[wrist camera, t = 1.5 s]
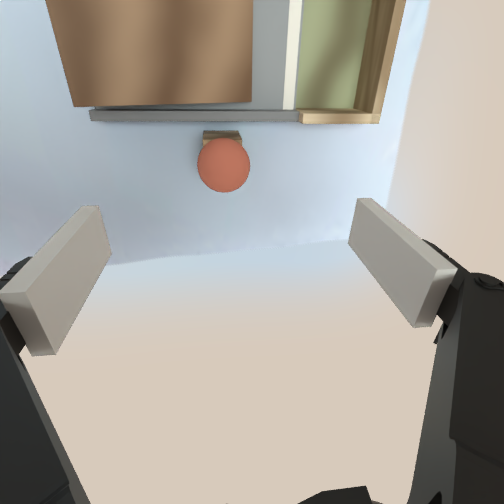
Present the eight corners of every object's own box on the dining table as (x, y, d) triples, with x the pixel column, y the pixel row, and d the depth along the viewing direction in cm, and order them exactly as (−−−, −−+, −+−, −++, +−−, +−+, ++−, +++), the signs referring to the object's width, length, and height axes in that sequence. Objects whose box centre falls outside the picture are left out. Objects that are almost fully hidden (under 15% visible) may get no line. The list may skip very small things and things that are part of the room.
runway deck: (102, 116, 28) (91, 121, 25) (65, -46, 22) (46, -61, 19) (290, 116, 30) (298, 121, 27) (302, -33, 24) (313, -45, 21)
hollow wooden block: (206, 165, 31) (205, 178, 27) (203, 130, 29) (202, 140, 26) (238, 164, 32) (242, 178, 28) (238, 130, 30) (242, 139, 26)
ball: (200, 183, 28) (198, 201, 24) (196, 133, 26) (193, 144, 22) (247, 182, 28) (252, 199, 25) (247, 133, 26) (253, 143, 22)
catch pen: (290, 116, 30) (302, 123, 26) (302, -33, 24) (319, -52, 20) (357, 116, 30) (378, 123, 27) (384, -28, 25) (416, -46, 21)
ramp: (95, 99, 26) (68, 106, 21) (67, -24, 22) (25, -51, 17) (250, 100, 27) (258, 107, 22) (252, -15, 23) (262, -38, 18)
